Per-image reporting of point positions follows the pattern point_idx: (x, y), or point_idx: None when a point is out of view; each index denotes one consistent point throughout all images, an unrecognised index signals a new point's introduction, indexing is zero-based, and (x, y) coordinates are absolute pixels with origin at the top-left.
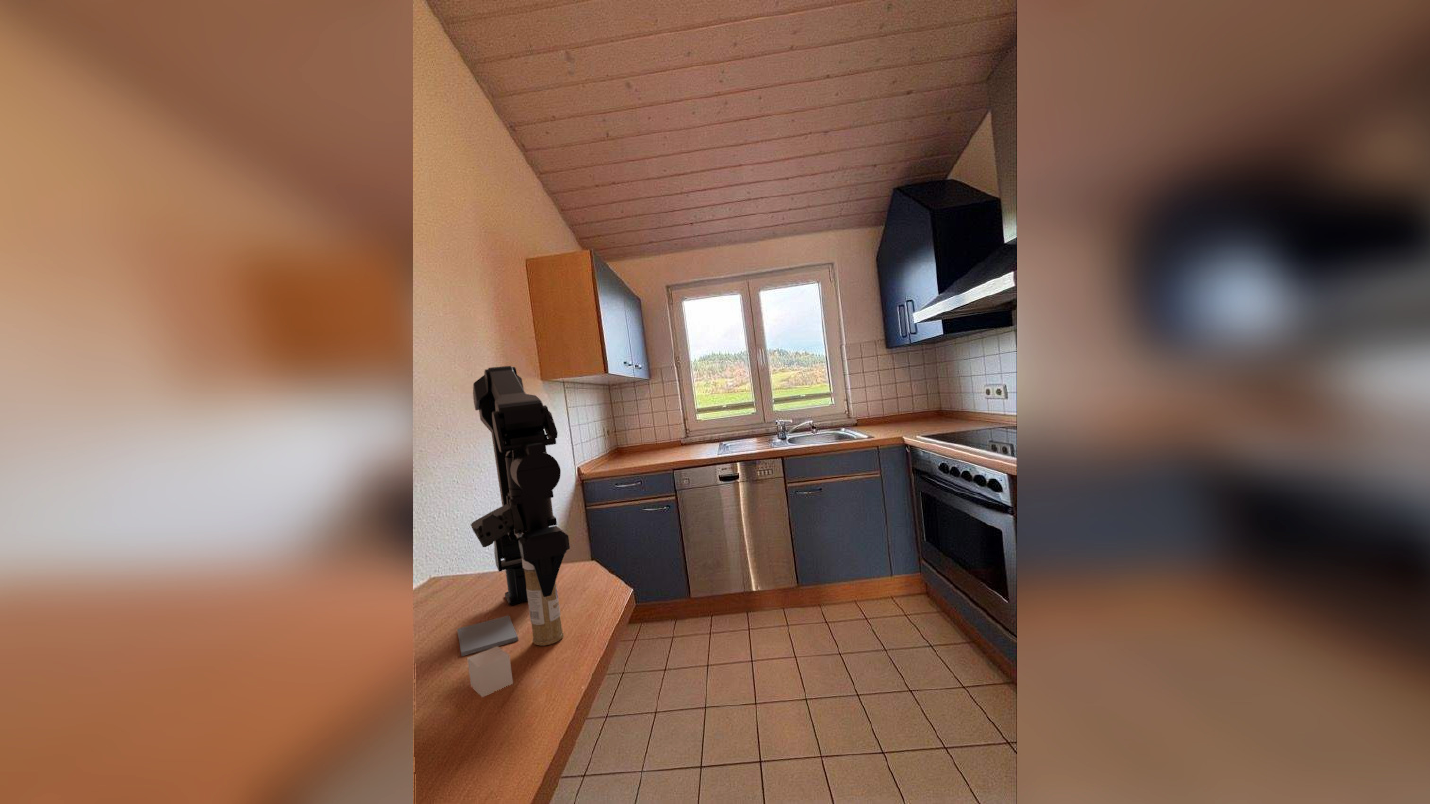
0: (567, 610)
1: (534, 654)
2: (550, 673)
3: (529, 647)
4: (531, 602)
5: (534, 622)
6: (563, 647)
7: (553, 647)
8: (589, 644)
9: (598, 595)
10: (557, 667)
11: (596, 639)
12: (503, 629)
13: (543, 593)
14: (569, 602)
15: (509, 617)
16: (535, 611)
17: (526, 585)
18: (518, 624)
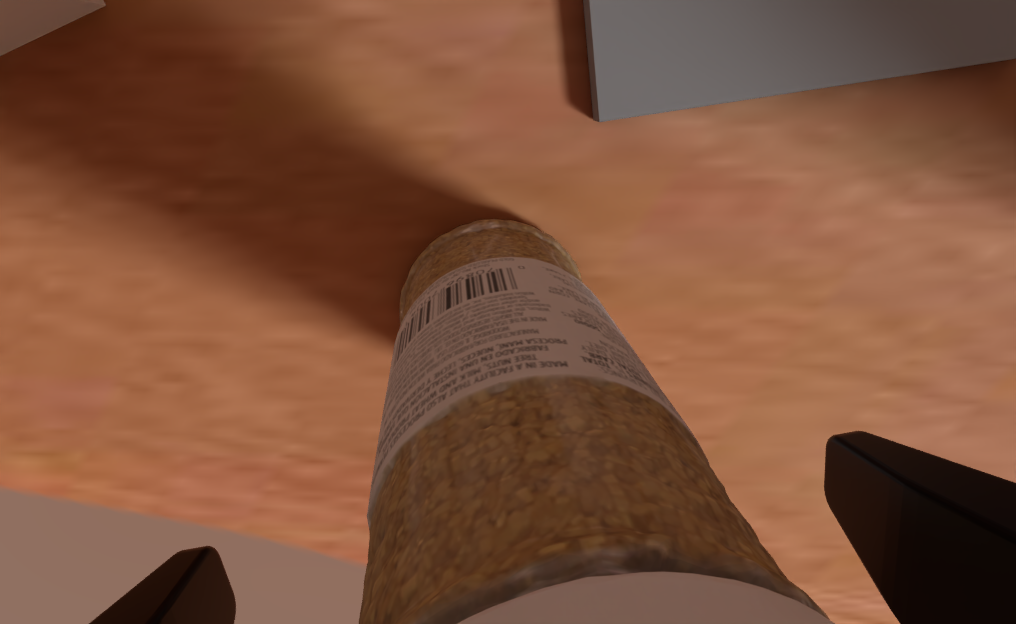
0: (862, 415)
1: (319, 222)
2: (10, 309)
3: (442, 192)
4: (430, 354)
5: (426, 290)
6: (337, 383)
7: (366, 331)
8: (309, 506)
9: None
10: (77, 347)
11: (356, 539)
12: (797, 15)
13: (143, 585)
14: (975, 428)
15: (993, 59)
16: (405, 345)
17: (533, 402)
18: (868, 120)
